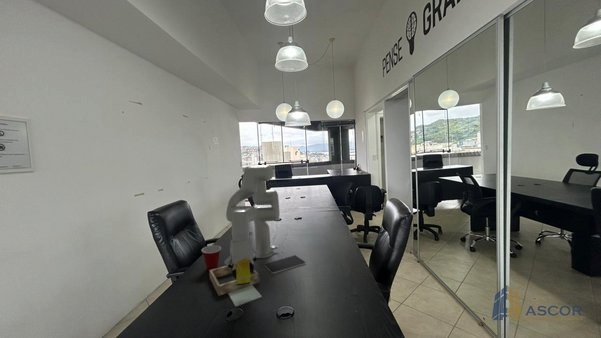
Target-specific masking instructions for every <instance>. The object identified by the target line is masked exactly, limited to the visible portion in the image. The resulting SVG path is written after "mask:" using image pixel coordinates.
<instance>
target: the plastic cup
mask: <svg viewBox="0 0 601 338" xmlns="http://www.w3.org/2000/svg"><path fill="white" fill-rule="evenodd" d="M221 250H222V247H221V246H219V245H213V244H212V245H208V246H204V247H203V248H202V249H201V253H202V255H203V258H204V263H205V267H206V269H207V271H209V270H213V269H216V268H219V258H220V252H221Z"/></svg>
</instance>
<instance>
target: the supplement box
mask: <svg viewBox="0 0 601 338" xmlns="http://www.w3.org/2000/svg"><path fill="white" fill-rule="evenodd" d="M249 264H250V261H249V259H246V260H242V261H239V262H237V264H236V275H237V278H236V280H237V286H239V285H245V284H250V267H249Z"/></svg>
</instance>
